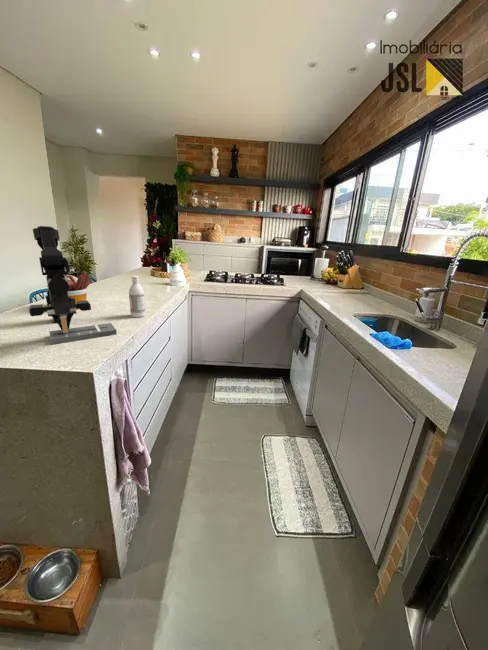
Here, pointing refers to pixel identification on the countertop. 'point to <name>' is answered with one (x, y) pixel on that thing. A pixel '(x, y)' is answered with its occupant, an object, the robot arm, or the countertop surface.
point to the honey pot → (177, 276)
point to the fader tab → (64, 323)
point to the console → (82, 333)
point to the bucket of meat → (78, 286)
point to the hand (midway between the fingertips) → (65, 329)
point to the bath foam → (136, 298)
